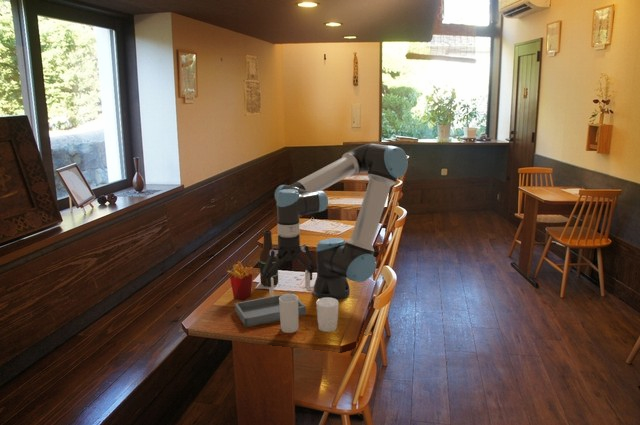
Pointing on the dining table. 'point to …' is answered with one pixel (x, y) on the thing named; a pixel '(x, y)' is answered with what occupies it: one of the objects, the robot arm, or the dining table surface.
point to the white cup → (327, 314)
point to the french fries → (241, 282)
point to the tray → (263, 310)
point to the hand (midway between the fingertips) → (290, 292)
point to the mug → (289, 313)
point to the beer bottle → (265, 255)
